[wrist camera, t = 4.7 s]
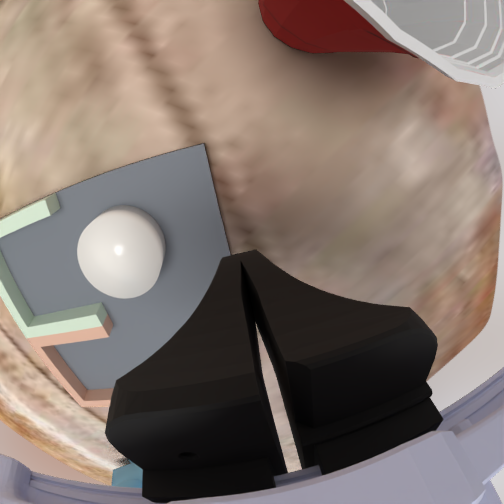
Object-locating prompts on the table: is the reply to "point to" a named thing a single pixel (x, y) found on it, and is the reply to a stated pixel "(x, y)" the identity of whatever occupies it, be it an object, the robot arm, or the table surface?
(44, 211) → the mint green c bracket
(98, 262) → the white dome
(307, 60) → the table surface
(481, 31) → the plastic cup
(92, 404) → the pink u-shaped rail
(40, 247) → the mat
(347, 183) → the table surface
